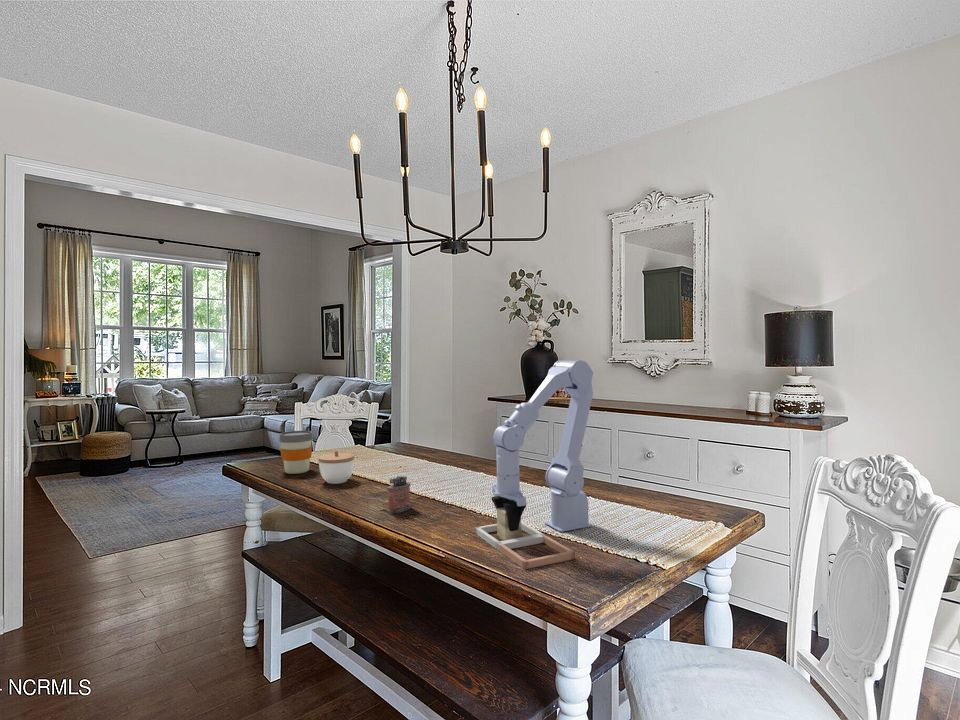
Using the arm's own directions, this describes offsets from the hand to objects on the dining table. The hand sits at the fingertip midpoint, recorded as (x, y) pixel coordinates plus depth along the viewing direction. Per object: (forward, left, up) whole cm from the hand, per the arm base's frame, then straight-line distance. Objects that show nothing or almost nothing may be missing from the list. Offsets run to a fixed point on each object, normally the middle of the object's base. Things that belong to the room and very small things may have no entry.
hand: (508, 527), depth 141 cm
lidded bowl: (+28, -80, -3) cm, 85 cm away
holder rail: (0, +7, -2) cm, 7 cm away
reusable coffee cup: (+39, -105, -3) cm, 113 cm away
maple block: (0, 0, -2) cm, 2 cm away
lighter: (+18, -35, -3) cm, 40 cm away
